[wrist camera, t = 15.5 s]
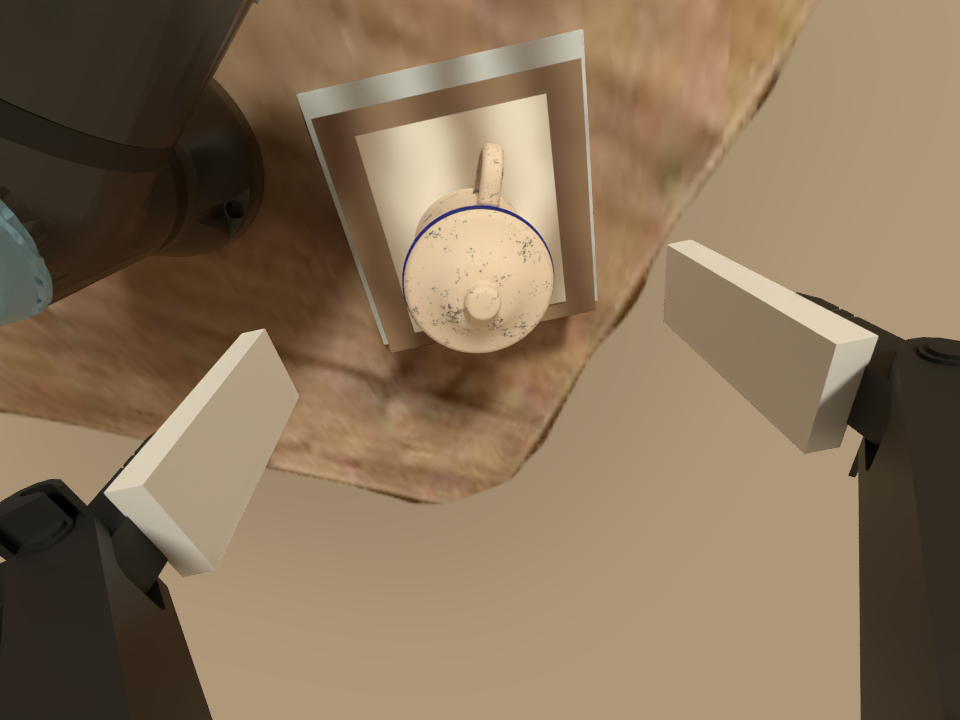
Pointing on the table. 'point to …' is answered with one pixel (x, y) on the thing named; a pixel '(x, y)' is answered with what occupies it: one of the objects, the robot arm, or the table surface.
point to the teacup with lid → (477, 266)
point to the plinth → (460, 162)
